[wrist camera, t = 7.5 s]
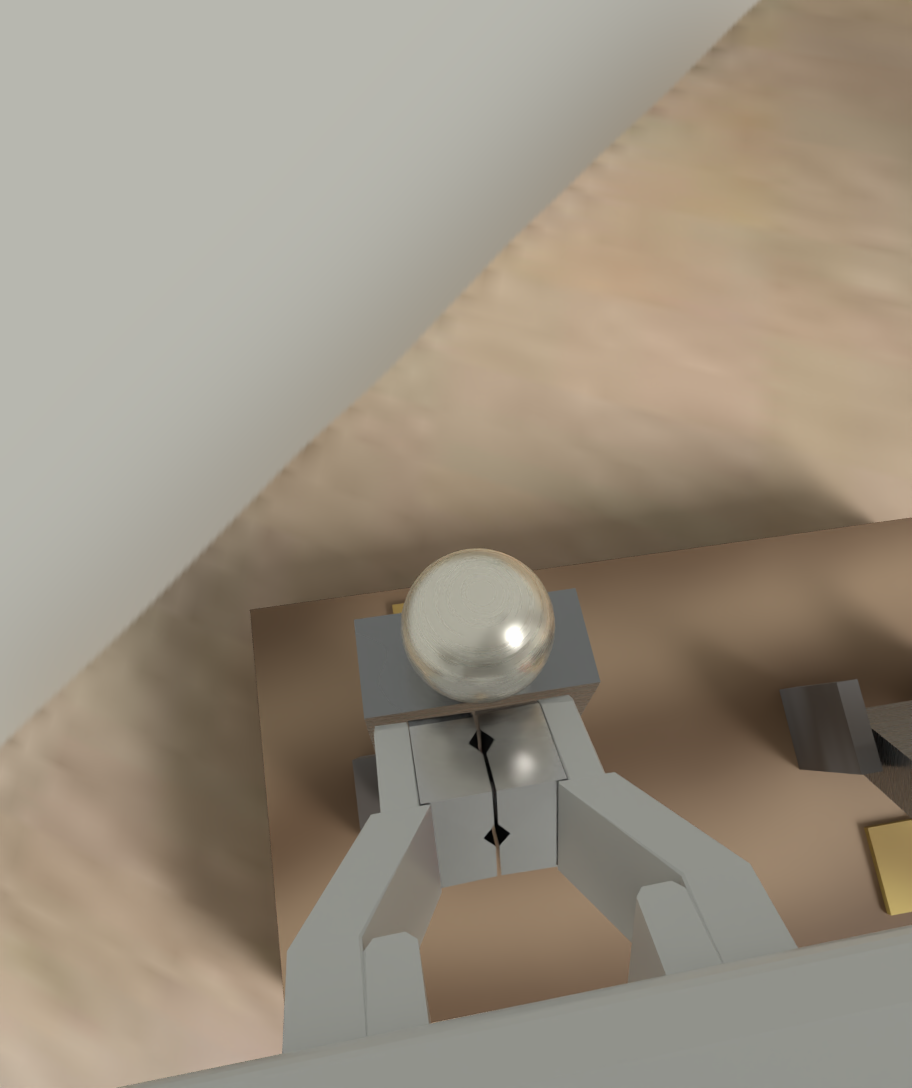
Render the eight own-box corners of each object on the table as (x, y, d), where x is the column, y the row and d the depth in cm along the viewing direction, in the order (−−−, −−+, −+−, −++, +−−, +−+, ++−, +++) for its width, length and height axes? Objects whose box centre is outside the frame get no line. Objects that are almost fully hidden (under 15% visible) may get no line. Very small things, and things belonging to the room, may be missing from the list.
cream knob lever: (533, 812, 20) (638, 651, 9) (399, 835, 20) (350, 694, 9) (516, 732, 21) (594, 503, 10) (389, 751, 21) (335, 537, 10)
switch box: (998, 868, 26) (1215, 917, 19) (308, 998, 24) (265, 1109, 17) (897, 539, 29) (1052, 476, 22) (273, 628, 26) (224, 589, 20)
